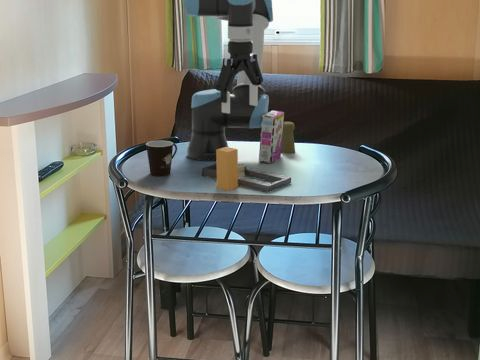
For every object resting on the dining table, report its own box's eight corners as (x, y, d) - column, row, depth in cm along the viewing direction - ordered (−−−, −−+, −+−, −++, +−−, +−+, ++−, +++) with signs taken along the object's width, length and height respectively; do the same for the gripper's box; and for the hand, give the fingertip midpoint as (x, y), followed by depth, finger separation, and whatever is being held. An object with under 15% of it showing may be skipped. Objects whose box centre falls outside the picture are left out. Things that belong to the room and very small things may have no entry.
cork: (284, 148, 251) (285, 119, 248) (298, 151, 248) (299, 121, 245) (275, 152, 247) (276, 122, 243) (289, 154, 243) (290, 124, 240)
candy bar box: (272, 164, 230) (274, 117, 226) (258, 162, 232) (260, 115, 227) (281, 156, 240) (284, 111, 236) (268, 154, 242) (271, 109, 237)
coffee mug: (152, 178, 213) (151, 148, 210) (143, 172, 220) (142, 142, 217) (186, 174, 218) (186, 144, 215) (176, 167, 225) (175, 138, 222)
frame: (201, 175, 217) (201, 168, 216) (223, 168, 225) (223, 161, 224) (225, 181, 211) (225, 173, 210) (246, 174, 219) (246, 166, 218)
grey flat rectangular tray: (224, 181, 210) (224, 175, 210) (248, 173, 219) (248, 167, 219) (268, 192, 200) (268, 186, 199) (291, 183, 209) (291, 177, 208)
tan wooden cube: (226, 177, 215) (226, 165, 213) (234, 175, 218) (234, 163, 216) (236, 180, 212) (236, 168, 211) (244, 177, 215) (244, 165, 214)
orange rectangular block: (216, 188, 204) (216, 149, 201) (226, 184, 207) (226, 146, 204) (228, 191, 201) (227, 152, 198) (237, 187, 205) (237, 149, 201)
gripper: (222, 45, 193) (223, 117, 200) (274, 37, 211) (273, 104, 218) (203, 43, 197) (204, 114, 204) (256, 35, 215) (255, 100, 222)
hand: (240, 109), depth 211 cm, fingers open, 13 cm apart
